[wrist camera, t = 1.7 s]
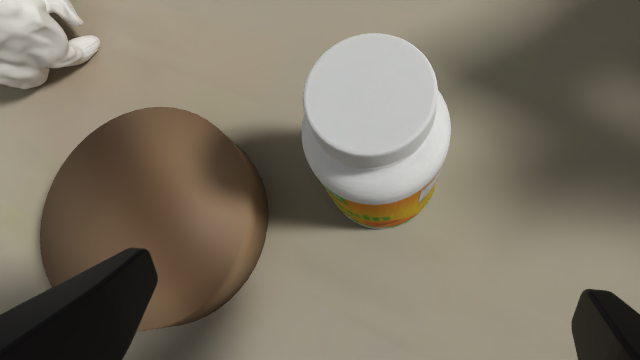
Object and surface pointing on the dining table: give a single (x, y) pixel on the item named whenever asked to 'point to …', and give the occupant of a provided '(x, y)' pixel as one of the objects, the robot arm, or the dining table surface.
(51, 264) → the plinth
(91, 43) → the white lumpy figure
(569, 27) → the dining table surface
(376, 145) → the supplement bottle
